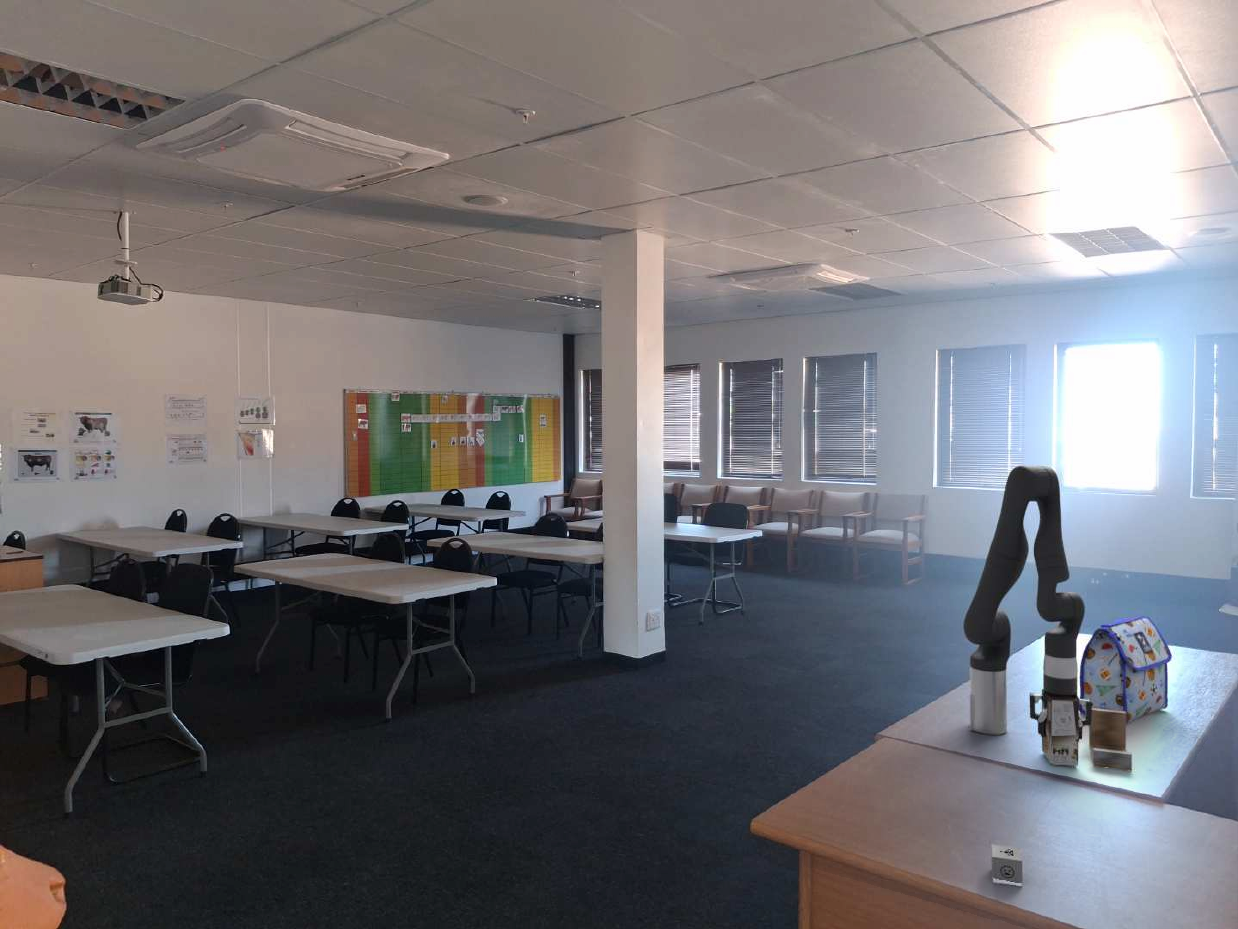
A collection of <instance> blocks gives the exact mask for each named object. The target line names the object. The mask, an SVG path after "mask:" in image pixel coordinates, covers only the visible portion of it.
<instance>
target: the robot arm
mask: <svg viewBox="0 0 1238 929" xmlns="http://www.w3.org/2000/svg"><path fill="white" fill-rule="evenodd" d="M1060 489H1061V488H1060V480H1059V477H1058V474H1057V473H1056V471H1055V470H1054V469H1053V468H1051V467H1049V466H1046V465H1028V464H1027V465H1024V464H1023V465H1017V466H1015V467H1014V468H1012V470H1011V471H1010V473H1009V474H1008V477H1007V478H1006V484H1005V487H1004V491H1003V497H1002V502H1001V503H1002V504H1001V508H1000V514H999V516H998V517H999V518H998V519H997V520H998V521H997V524H996V527H995V531H994V535H993V538H992V540H991V543H990V546H989V548H988V552H987V556H986V560H985V563H984V567H983V570H982V574H981V575H980V579H979V582H978V585H977V588H976V592H975V593H974V596H973V597H972V601H971V603H970V605H969V606H968V609H967V611H966V614H965V616H964V619H963V626H962V627H963V632H964V636H965V637H966V639H967V640H968V641H969V643H972V644H973V645H978V647H977V649H976V650H975V651H974V652H972V654H971V655H970V656H969V689H970V690H969V731H972V732H973V731H974V732H976V733H979V734H984V735H991V736H992V735H1002V734H1006V733H1007V731H1008V712H1007V711H1008V704H1007V703H1008V702H1007V701H1008V700H1007V699H1008V694H1007V693H1008V692H1007V689H1008V687H1007V684H1008V683H1007V681H1008V679H1007V677H1008V676H1007V675H1008V674H1007V668H1008V667H1007V666H1008V665H1007V664H1008V661H1009V659H1010V655H1011V639H1012V638H1011V636H1012V630H1011V629H1012V628H1011V622H1010V619H1009V616H1008V614H1007V613H1006V612H1005V611H1004V610H1002V609H1001V608H999V607H1000V605H1001V603H1002V602H1003V600H1004V598H1005V596H1006V595H1008V593H1009V592H1010V591H1011V590H1012V588H1013V587H1014V585H1016V583H1017V581H1018V580H1019V579H1020V578H1021V576H1022V575H1023V574H1022V573H1023V571H1024V570H1025V569H1024V568H1025V565H1026V562H1027V559H1028V556H1029V551H1030V549H1029V548H1030V547H1029V541H1028V537H1027V534H1026V531H1025V530H1026V529H1025V526H1024V522H1025V521H1024V520H1025V515H1026V511H1027V508H1028V506H1029V503H1030V502H1036V504H1037V508H1038V511H1039V523H1038V529H1037V533H1036V535H1035V539H1034V543H1033V558H1034V562H1035V568H1036V571H1037V572H1036V573H1037V594H1036V610H1037V612H1038V615H1039V616H1040V618H1042V620H1044V621H1045V622H1047V623H1057V622H1058V623H1059V624H1058V625H1057V626H1056V627H1054V628H1051V629H1049V630H1047V631H1046V632H1045V634H1044V653H1043V654H1044V655H1043V656H1044V657H1043V665H1042V666H1043V667H1042V669H1043V670H1042V672H1043V673H1042V679H1043V680H1042V681H1043V682H1042V684H1043V685H1042V689H1043V693H1042V692H1041V694H1036V693H1035V692H1030V693H1029V718H1030V719H1031V720H1035V721H1037V734H1038V735H1040V737H1041V738H1042V737H1044V720H1045V718H1046V717H1047V708H1046V710H1045V709H1044V708H1043V710H1042V709H1041V711H1040V713H1037V712H1036V704H1039V701H1040V700H1041V702H1042V701H1043V702H1044V704H1045V705H1046V704H1047V695H1051V696H1067V697H1074V698H1076V699H1077V700H1079V704H1081V705H1082V707H1083V708H1084V709H1085V714H1084V716H1085V717H1084V718H1081V717H1080V716H1079V735H1078V743H1079V742H1080V740H1083V728H1084V727H1085V726H1088V727H1089V726H1090V725H1091V717H1092V702H1091V700H1090V699H1086V700H1085V699H1080V697H1079V695H1078V672H1079V668H1078V660H1077V651H1078V649H1077V648H1078V647H1077V639H1078V637H1079V635H1080V634H1079V633H1080V630H1081V627H1082V624H1083V621H1084V617H1085V614H1086V612H1085V611H1086V608H1085V607H1086V606H1085V602H1084V600H1083V598H1082V597H1081V595H1079V594H1078V593H1077V592H1075V591H1063V592H1062V591H1061V592H1057V587H1058V584H1062V583H1065V582H1067V581H1068V580H1069V579H1070V570H1069V565H1068V561H1067V556H1066V551H1065V546H1064V539H1063V532H1062V509H1061V505H1062V504H1061V490H1060Z"/></svg>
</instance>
